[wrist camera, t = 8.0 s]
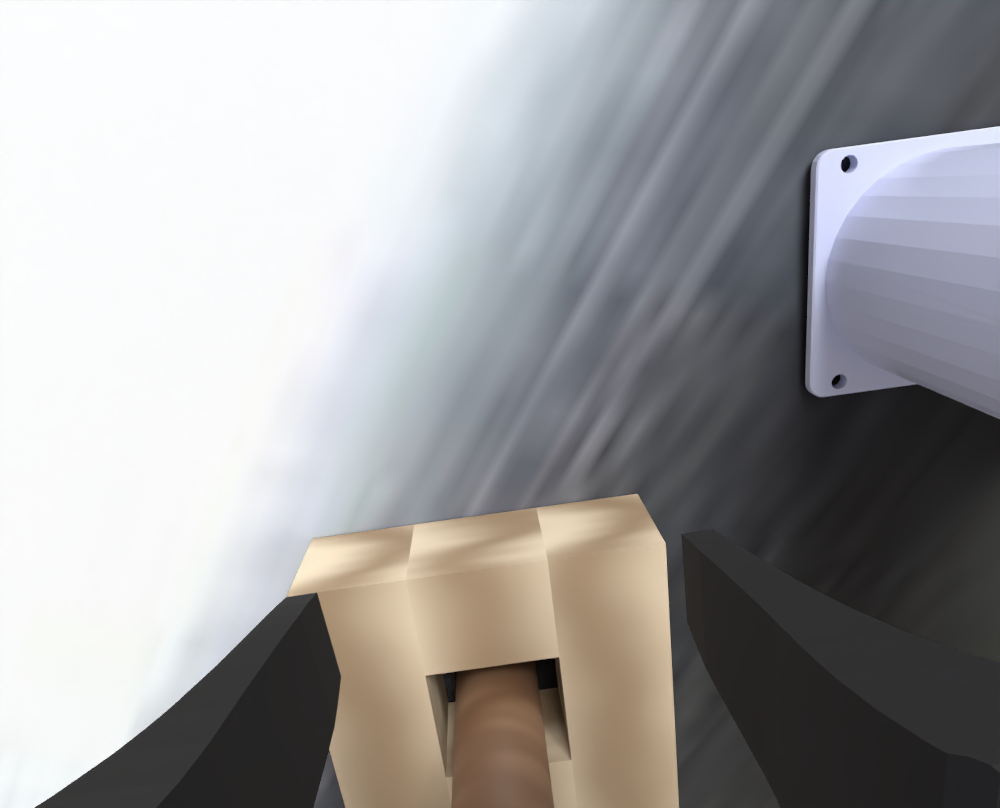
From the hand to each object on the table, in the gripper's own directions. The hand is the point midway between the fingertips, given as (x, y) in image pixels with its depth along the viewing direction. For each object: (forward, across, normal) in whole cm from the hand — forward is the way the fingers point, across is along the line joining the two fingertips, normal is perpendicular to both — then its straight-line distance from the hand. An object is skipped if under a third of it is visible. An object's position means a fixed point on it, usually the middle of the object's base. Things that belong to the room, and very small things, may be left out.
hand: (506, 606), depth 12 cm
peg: (+10, +1, +9) cm, 14 cm away
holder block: (+10, +1, +10) cm, 14 cm away
